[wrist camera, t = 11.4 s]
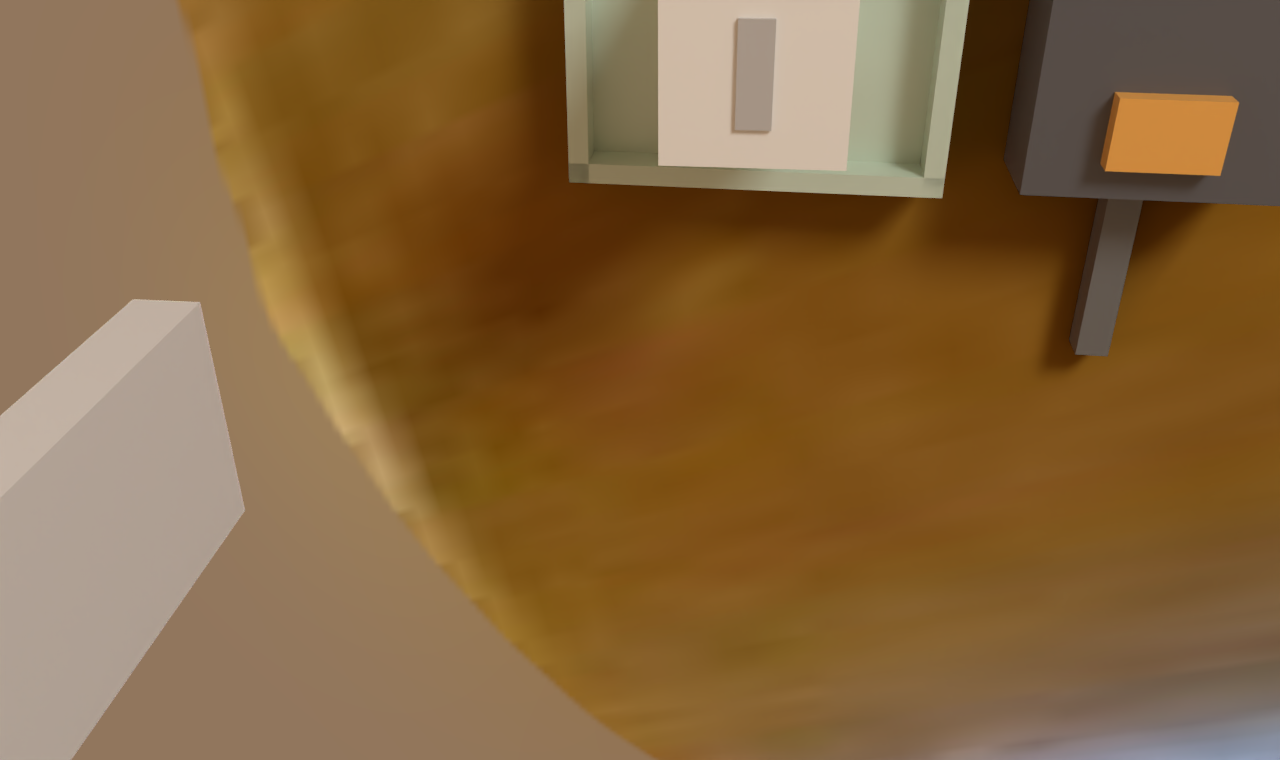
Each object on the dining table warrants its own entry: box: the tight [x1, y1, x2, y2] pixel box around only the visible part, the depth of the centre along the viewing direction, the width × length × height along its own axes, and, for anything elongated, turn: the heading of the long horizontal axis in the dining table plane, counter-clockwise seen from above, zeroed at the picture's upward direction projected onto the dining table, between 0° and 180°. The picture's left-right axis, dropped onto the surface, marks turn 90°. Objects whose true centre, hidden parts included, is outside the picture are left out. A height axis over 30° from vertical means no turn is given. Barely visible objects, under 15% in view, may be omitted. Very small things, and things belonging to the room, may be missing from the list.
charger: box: [658, 0, 860, 171], centre depth 29 cm, size 4×4×9 cm
